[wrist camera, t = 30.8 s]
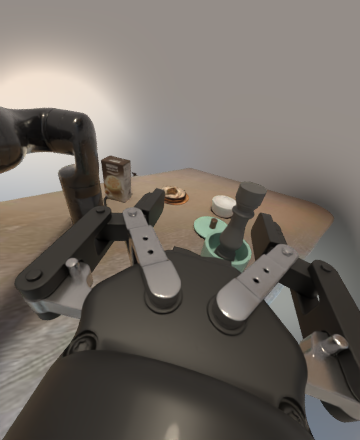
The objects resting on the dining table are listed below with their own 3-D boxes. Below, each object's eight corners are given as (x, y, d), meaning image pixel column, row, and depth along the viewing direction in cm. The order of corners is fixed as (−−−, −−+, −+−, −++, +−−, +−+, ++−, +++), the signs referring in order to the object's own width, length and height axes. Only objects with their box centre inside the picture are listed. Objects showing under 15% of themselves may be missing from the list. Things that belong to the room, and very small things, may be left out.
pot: (193, 251, 54) (197, 233, 50) (226, 244, 59) (233, 228, 54) (212, 286, 45) (220, 269, 41) (250, 276, 50) (261, 259, 45)
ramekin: (238, 211, 78) (242, 202, 74) (229, 223, 70) (234, 212, 67) (215, 202, 82) (218, 192, 79) (205, 211, 74) (208, 201, 71)
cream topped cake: (178, 208, 73) (180, 200, 71) (150, 196, 78) (150, 188, 75) (193, 195, 84) (194, 188, 82) (167, 186, 89) (168, 178, 86)
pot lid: (188, 220, 67) (190, 210, 64) (217, 216, 72) (220, 207, 69) (203, 245, 57) (206, 235, 54) (236, 239, 62) (241, 229, 59)
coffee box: (104, 197, 72) (99, 159, 62) (113, 191, 77) (109, 155, 68) (125, 203, 71) (122, 164, 61) (132, 196, 76) (130, 160, 67)
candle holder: (209, 254, 54) (235, 179, 39) (227, 255, 54) (260, 182, 40) (213, 270, 49) (245, 193, 34) (234, 271, 50) (273, 195, 35)
